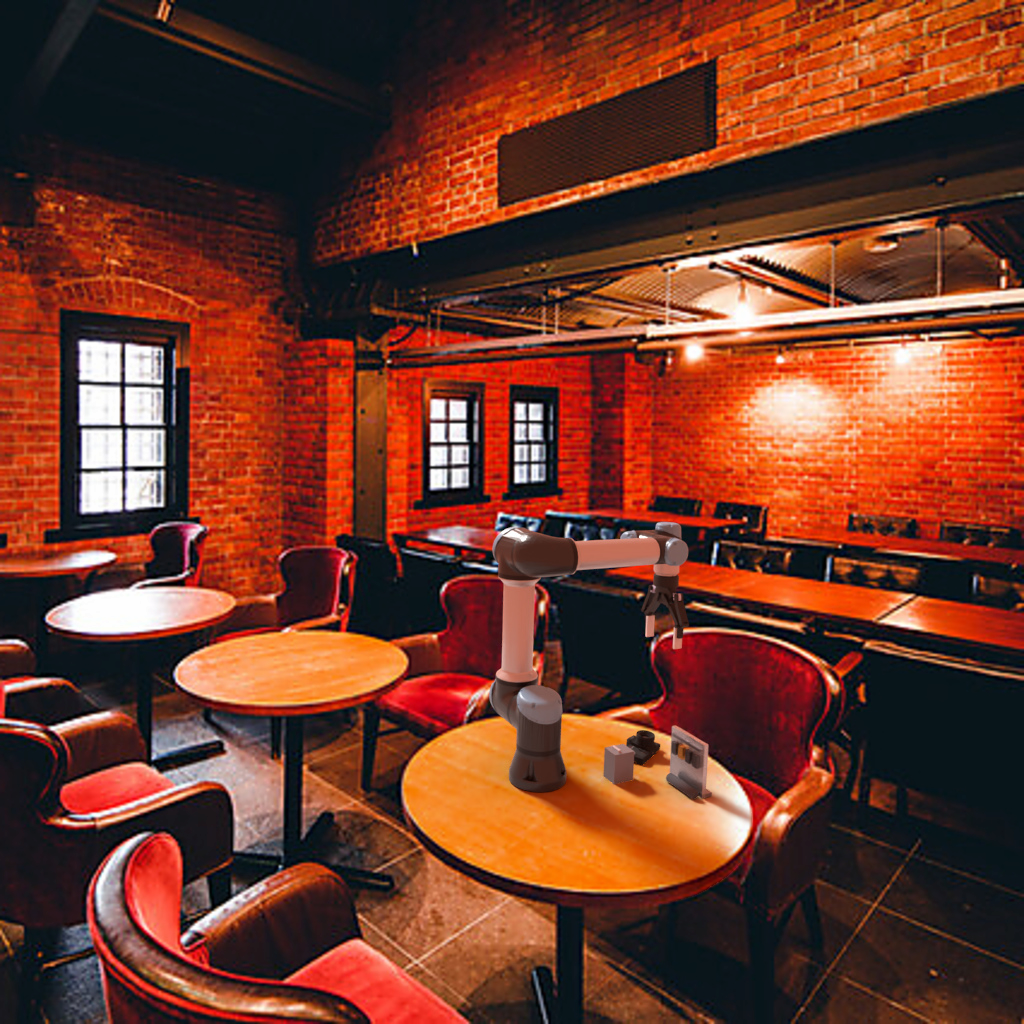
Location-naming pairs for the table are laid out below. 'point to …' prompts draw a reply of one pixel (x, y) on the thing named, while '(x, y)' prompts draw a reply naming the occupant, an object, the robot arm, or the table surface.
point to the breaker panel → (689, 760)
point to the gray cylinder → (682, 786)
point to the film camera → (643, 746)
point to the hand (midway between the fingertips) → (662, 642)
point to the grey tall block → (618, 763)
